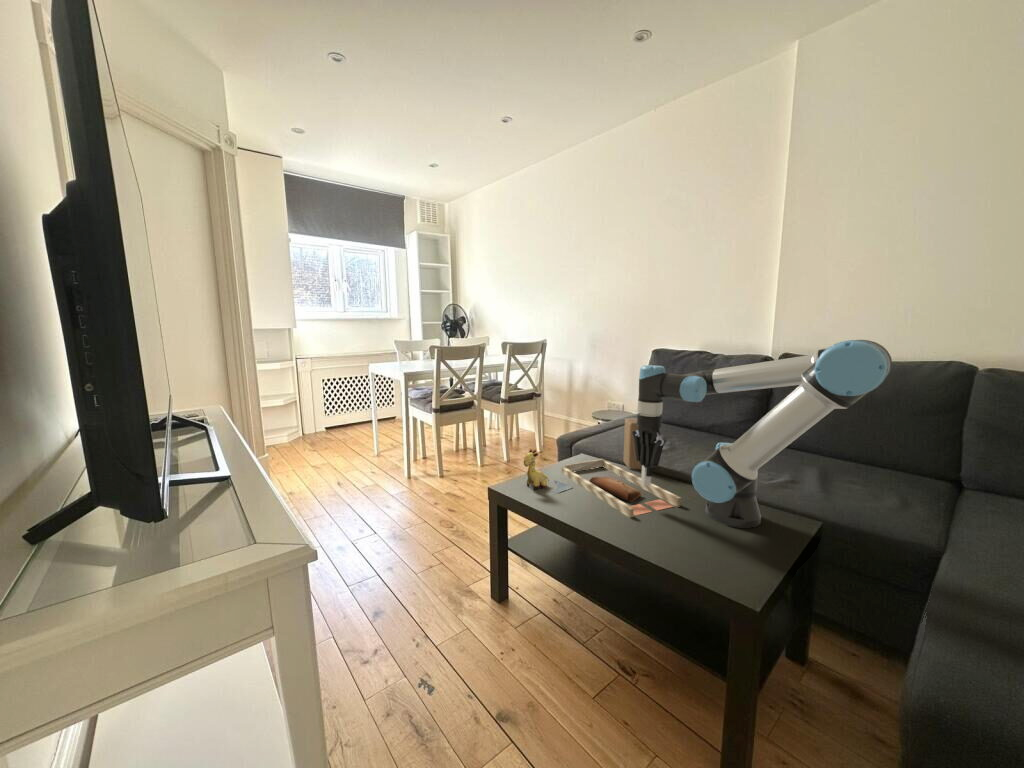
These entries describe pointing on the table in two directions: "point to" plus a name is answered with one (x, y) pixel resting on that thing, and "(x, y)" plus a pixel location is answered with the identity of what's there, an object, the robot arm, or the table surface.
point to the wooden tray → (612, 500)
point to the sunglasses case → (616, 488)
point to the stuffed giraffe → (539, 475)
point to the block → (630, 444)
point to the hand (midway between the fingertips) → (645, 484)
